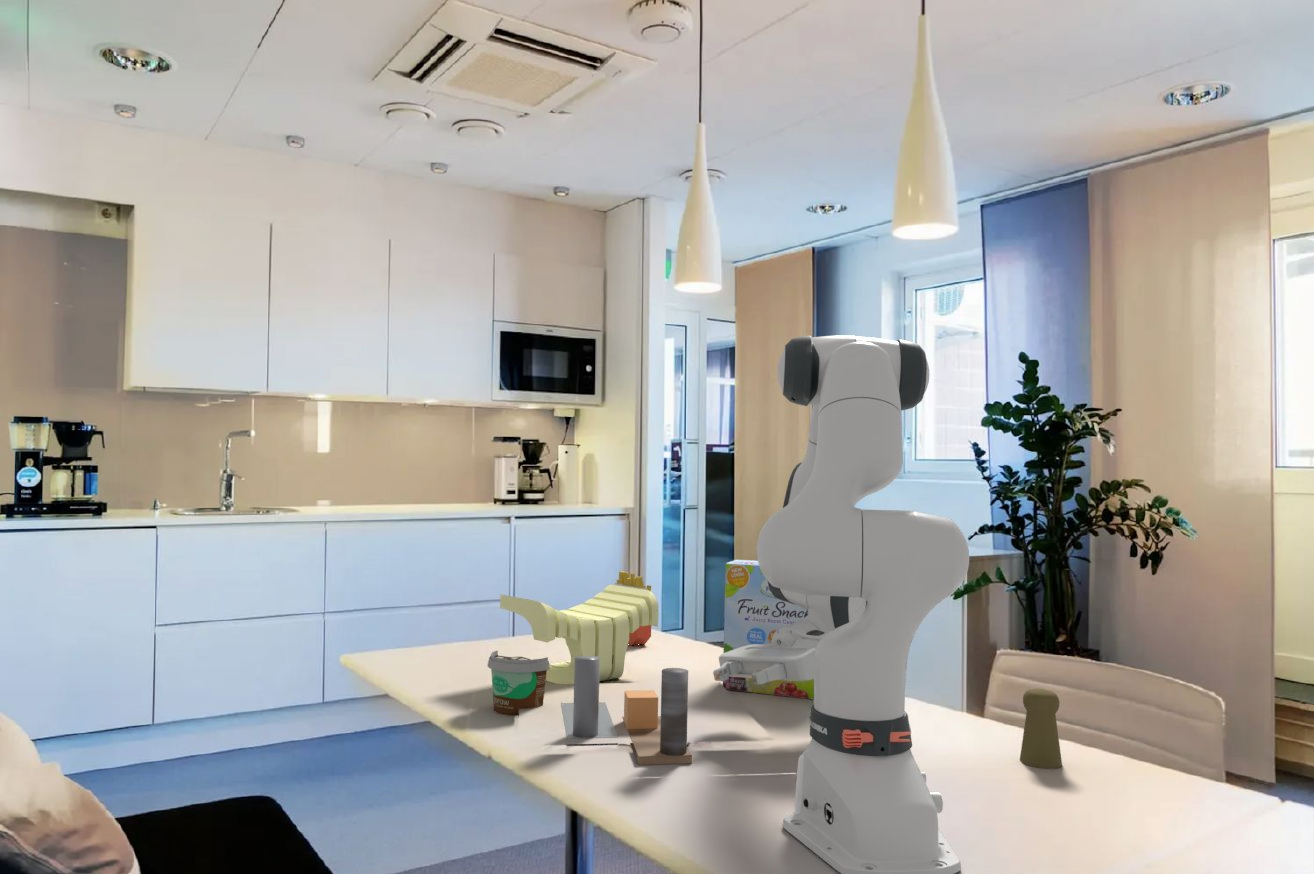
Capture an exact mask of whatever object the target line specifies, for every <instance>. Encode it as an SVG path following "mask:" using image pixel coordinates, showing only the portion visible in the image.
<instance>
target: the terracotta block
mask: <svg viewBox="0 0 1314 874" xmlns="http://www.w3.org/2000/svg"><path fill="white" fill-rule="evenodd" d="M623 696H624V698H623V699H624V702H623V717H624V720H623V722H625V723H624V724H625V727H626V730H627V729H649V728H658V716H659V696H658V694H657V693H656V691H655V690H653V689H651V690H646V689H645V690H643V689H642V690H639V689H638V690H637V689H636V690H624V695H623Z"/></svg>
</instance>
